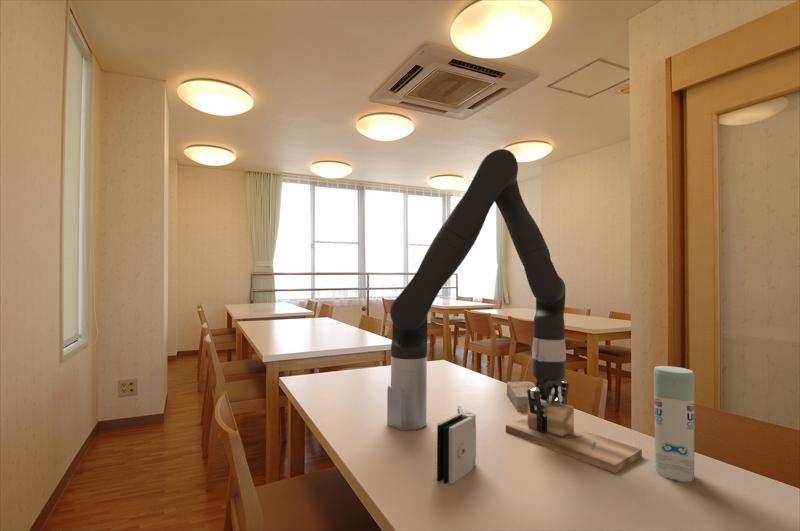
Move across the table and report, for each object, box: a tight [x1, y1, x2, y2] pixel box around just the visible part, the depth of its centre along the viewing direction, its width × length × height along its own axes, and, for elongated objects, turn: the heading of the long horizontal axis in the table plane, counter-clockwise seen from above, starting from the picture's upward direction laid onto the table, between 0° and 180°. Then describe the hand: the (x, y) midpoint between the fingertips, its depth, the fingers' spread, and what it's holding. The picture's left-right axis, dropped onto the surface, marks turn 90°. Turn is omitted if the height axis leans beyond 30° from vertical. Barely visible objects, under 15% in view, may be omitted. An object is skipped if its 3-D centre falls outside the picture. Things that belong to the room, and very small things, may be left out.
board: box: [505, 417, 643, 474], centre depth 92 cm, size 12×26×2 cm, turn 37°
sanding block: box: [527, 399, 575, 438], centre depth 96 cm, size 5×9×6 cm, turn 37°
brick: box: [506, 380, 536, 412], centre depth 122 cm, size 17×8×5 cm, turn 176°
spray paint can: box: [653, 365, 695, 483], centre depth 78 cm, size 6×6×20 cm
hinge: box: [436, 405, 477, 485], centre depth 80 cm, size 14×5×10 cm, turn 153°
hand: (548, 428), depth 96 cm, fingers closed on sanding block, 5 cm apart
